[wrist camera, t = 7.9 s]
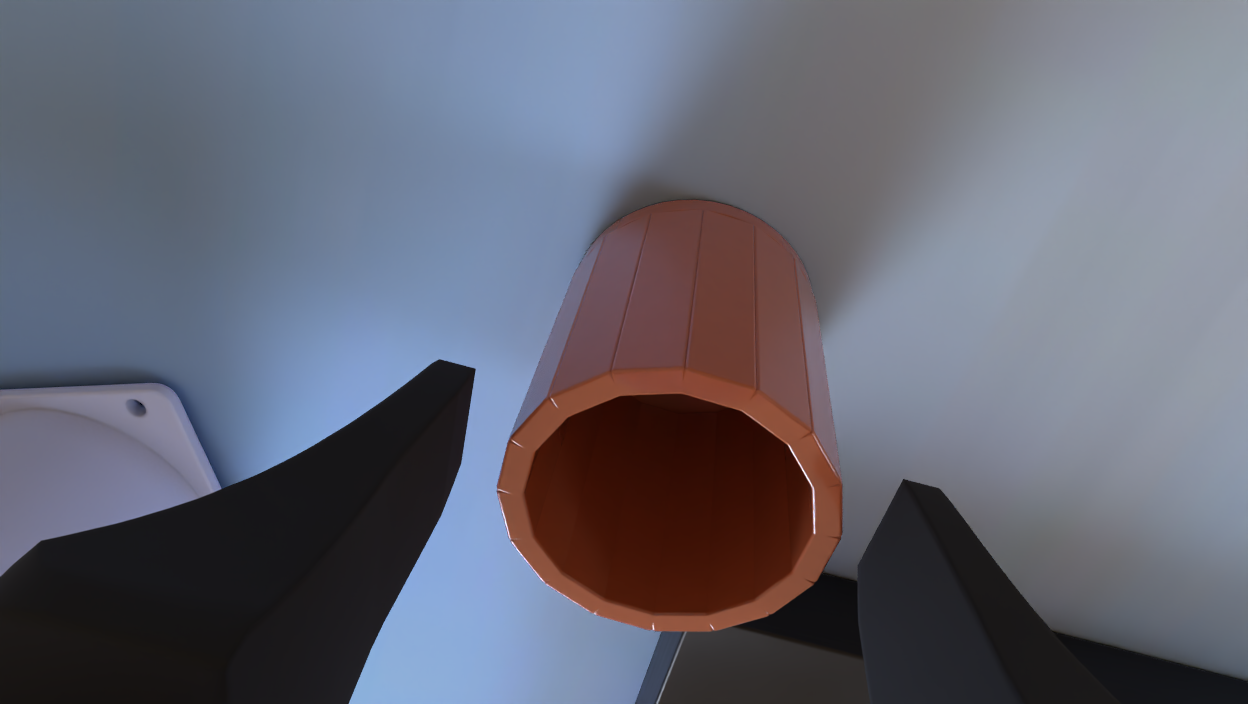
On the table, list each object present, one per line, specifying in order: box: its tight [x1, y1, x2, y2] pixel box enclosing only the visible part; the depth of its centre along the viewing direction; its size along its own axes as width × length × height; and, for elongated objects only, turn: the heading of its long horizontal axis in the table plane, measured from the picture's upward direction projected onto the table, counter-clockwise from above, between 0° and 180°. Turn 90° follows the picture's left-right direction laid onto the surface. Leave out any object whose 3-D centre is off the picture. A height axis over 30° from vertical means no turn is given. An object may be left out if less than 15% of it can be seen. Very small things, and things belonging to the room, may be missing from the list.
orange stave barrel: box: [497, 200, 843, 632], centre depth 16 cm, size 5×5×6 cm
